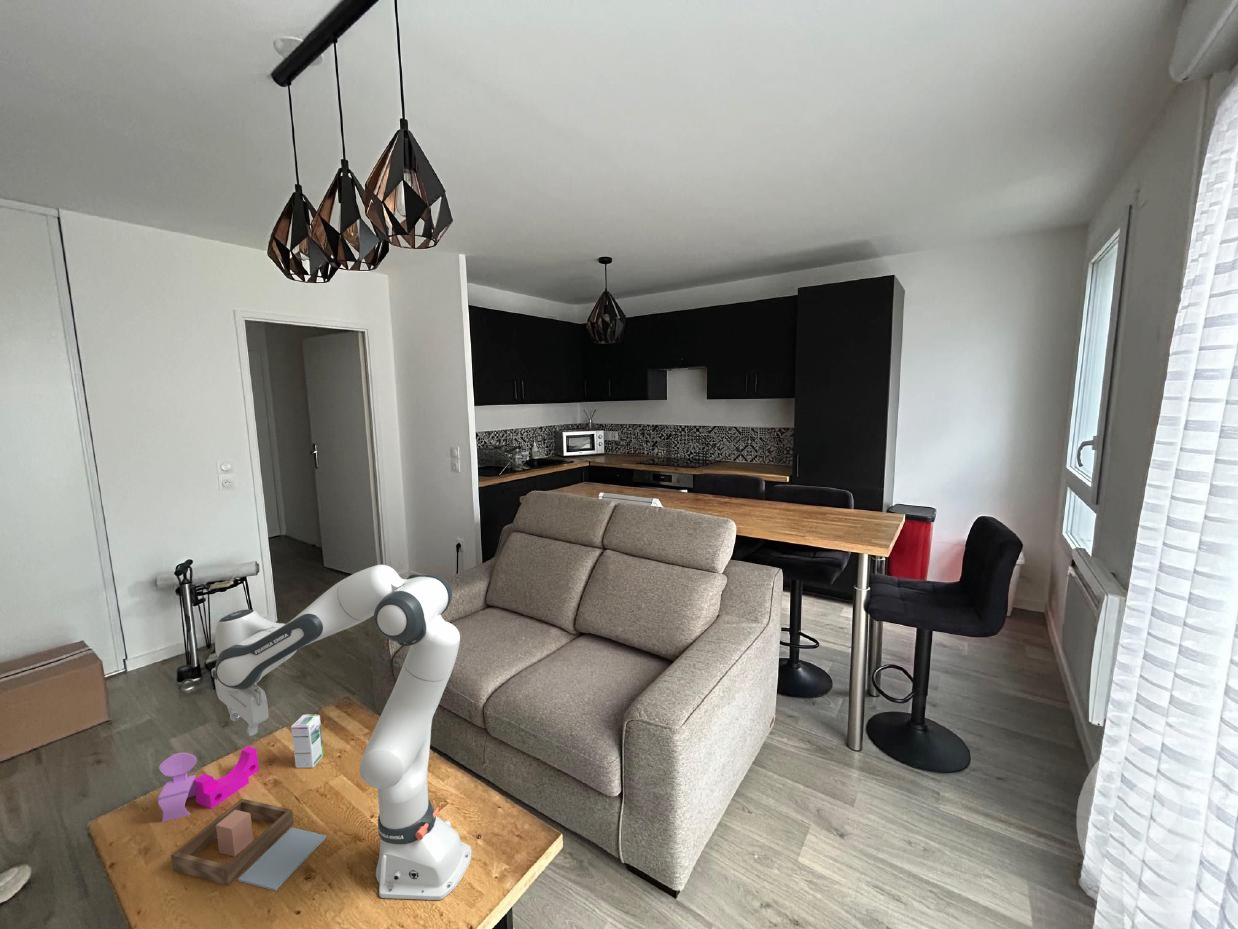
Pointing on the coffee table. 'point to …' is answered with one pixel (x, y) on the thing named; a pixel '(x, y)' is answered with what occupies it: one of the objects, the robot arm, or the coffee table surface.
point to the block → (234, 833)
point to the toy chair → (177, 785)
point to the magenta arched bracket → (226, 780)
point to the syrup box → (307, 741)
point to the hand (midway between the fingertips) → (243, 726)
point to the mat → (282, 859)
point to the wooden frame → (228, 873)
